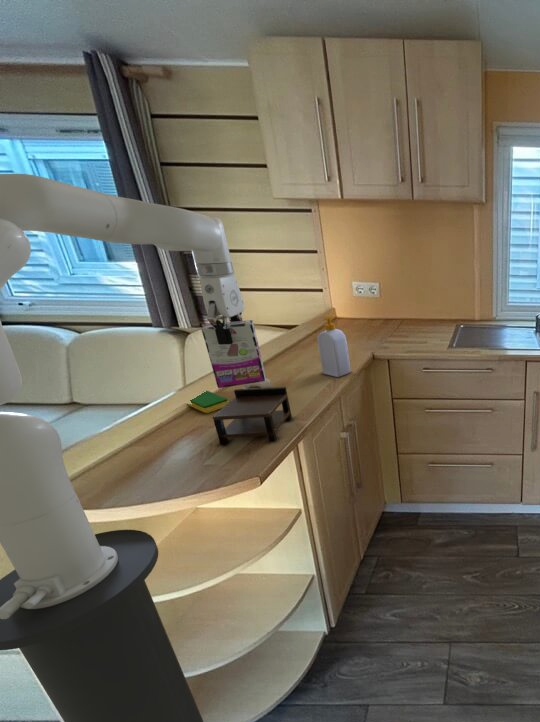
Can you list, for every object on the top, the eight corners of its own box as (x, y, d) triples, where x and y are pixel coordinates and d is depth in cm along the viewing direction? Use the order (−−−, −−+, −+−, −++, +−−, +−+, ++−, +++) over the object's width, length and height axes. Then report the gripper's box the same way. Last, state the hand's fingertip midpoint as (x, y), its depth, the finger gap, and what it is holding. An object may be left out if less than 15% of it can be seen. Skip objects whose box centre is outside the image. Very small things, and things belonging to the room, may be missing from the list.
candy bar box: (265, 375, 115) (253, 319, 109) (265, 381, 111) (252, 323, 105) (219, 382, 110) (203, 323, 104) (217, 388, 106) (200, 327, 100)
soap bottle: (352, 372, 162) (345, 316, 154) (338, 377, 157) (329, 319, 148) (337, 368, 166) (328, 313, 158) (322, 373, 161) (313, 316, 152)
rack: (275, 441, 111) (267, 407, 108) (220, 444, 110) (210, 410, 106) (292, 418, 124) (285, 387, 121) (243, 421, 123) (235, 389, 119)
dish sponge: (206, 413, 127) (204, 406, 126) (185, 404, 134) (183, 397, 133) (229, 405, 133) (228, 398, 132) (208, 396, 140) (206, 390, 139)
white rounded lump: (248, 361, 147) (274, 368, 144) (251, 383, 150) (277, 389, 147) (232, 367, 142) (259, 374, 138) (236, 389, 145) (263, 396, 142)
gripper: (213, 274, 92) (232, 349, 99) (247, 266, 108) (261, 331, 115) (177, 274, 91) (198, 350, 98) (216, 266, 107) (232, 332, 114)
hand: (232, 339), depth 106 cm, fingers closed on candy bar box, 6 cm apart
